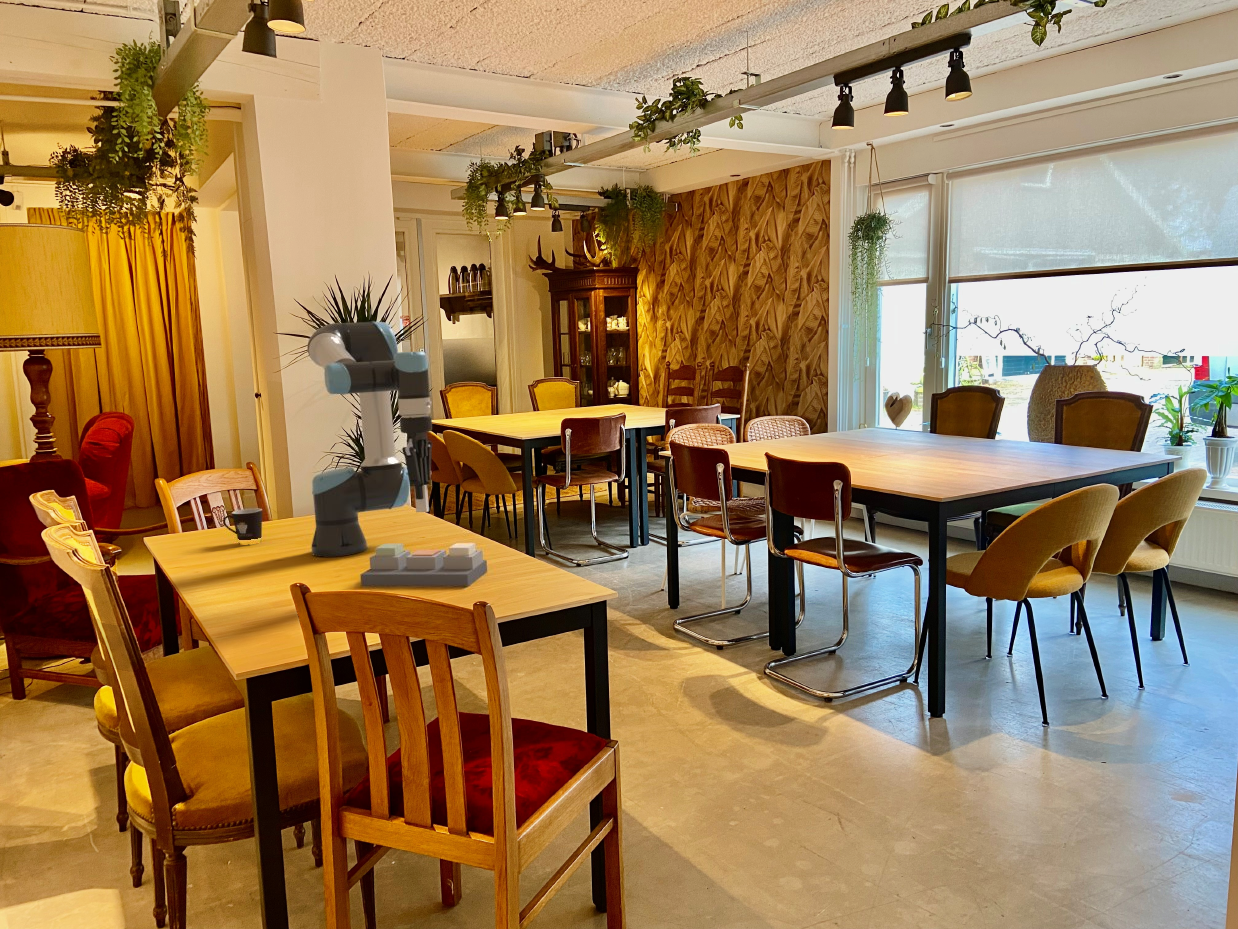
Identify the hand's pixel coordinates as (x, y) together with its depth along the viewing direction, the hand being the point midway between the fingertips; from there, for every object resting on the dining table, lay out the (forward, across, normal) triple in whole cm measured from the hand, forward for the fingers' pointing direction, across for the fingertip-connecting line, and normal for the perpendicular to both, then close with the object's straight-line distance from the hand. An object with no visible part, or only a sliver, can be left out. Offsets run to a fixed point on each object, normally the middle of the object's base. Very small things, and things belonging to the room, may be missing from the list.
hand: (422, 511), depth 218 cm
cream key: (+12, 0, -10) cm, 15 cm away
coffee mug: (+17, +40, +75) cm, 87 cm away
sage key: (+12, 0, +9) cm, 15 cm away
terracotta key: (+13, 0, 0) cm, 13 cm away
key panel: (+16, -2, 0) cm, 17 cm away
